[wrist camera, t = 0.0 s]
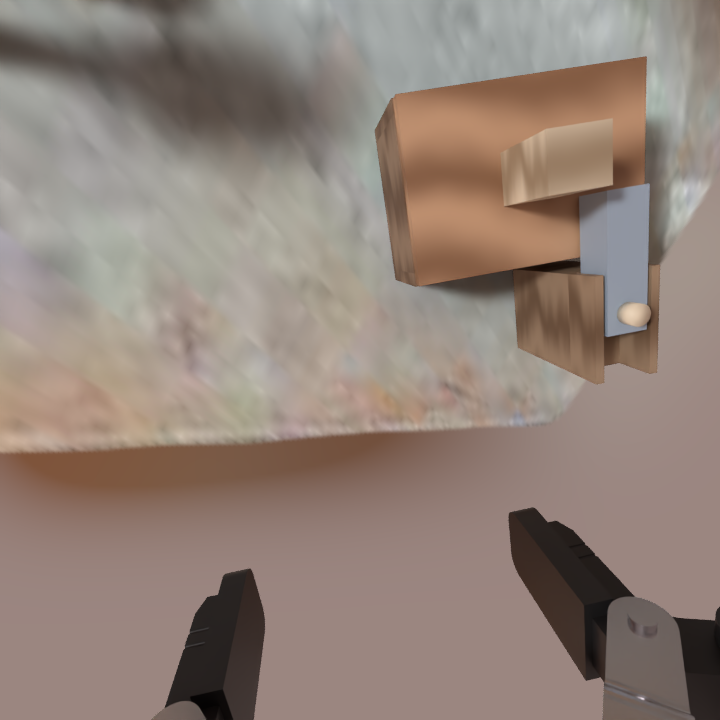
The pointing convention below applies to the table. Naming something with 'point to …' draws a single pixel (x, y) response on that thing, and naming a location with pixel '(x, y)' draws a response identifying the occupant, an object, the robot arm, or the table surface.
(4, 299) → the table surface
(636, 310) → the drawer
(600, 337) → the toolbox
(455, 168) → the lid
